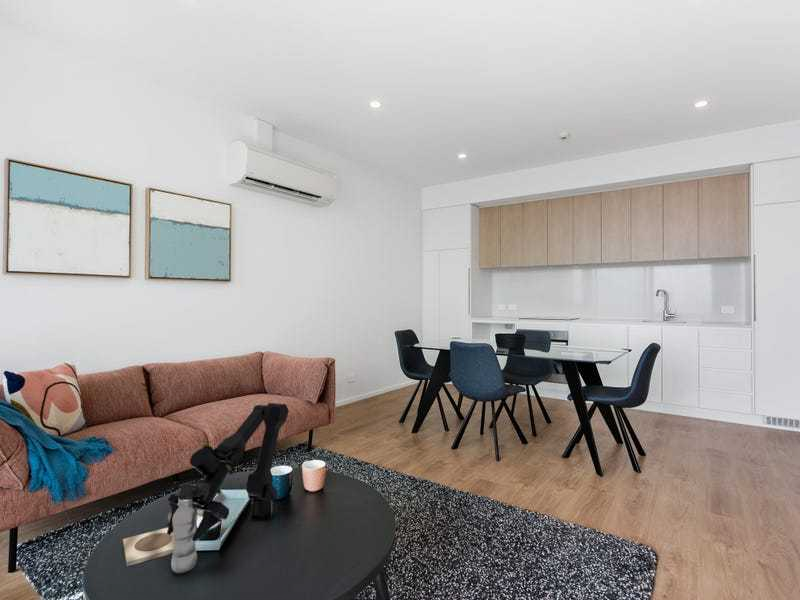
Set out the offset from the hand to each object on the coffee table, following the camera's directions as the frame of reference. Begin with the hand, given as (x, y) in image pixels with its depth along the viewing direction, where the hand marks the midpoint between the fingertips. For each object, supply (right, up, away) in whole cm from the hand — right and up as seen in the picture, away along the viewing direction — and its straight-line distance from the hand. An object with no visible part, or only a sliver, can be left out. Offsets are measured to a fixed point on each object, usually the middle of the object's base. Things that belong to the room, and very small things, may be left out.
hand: (180, 537), depth 117 cm
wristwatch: (-15, -11, +28) cm, 33 cm away
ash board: (-15, -10, +13) cm, 22 cm away
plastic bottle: (0, -10, +1) cm, 10 cm away
